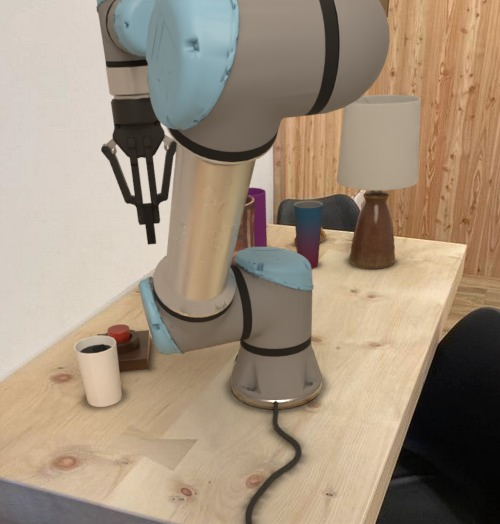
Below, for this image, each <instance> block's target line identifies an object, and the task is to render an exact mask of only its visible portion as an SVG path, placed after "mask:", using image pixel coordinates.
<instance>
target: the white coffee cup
mask: <svg viewBox="0 0 500 524" xmlns="http://www.w3.org/2000/svg"><path fill="white" fill-rule="evenodd" d="M73 350H74V354H75V358H76V361H77V366H78V369H79V373H80V377H81V381H82V385H83V390H84V393H85V397H86V402H87V403H88V405H90V406H92V407H97V408H105V407H110V406H113V405H115V404H117V403H119V402H120V401H121V400H122V398H123V391H122V382H121V373H120V372H121V371H119V363H118V355H117V346H116V341H115V339H114V338H112V337H109V336H102V335H100V336H97V335H92V336H87V337H84V338H82V339H80V340H78V341H77V342H76V343H75V344H74V346H73Z"/></svg>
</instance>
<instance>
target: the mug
mask: <svg viewBox="0 0 500 524" xmlns="http://www.w3.org/2000/svg"><path fill="white" fill-rule="evenodd" d="M266 192H267V191H266V190H265V189H263V188H260V187H249V191H248V195H250V196H251V197H253V198H255V211H254V246H255V247H268V245H267V243H268V239H267V238H268V232H267V196H266Z"/></svg>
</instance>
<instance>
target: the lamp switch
mask: <svg viewBox="0 0 500 524" xmlns="http://www.w3.org/2000/svg"><path fill="white" fill-rule="evenodd" d="M130 330H131V329H130V326H129V325H127V324H124V323H123V324H122V323H120V324H114V325H111V326H109V327H108V328H107V332H108V336H109V337H112V338H114V339H115V341H116V343H118V342H124V341H127V340H129V339H131V335H130Z"/></svg>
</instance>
